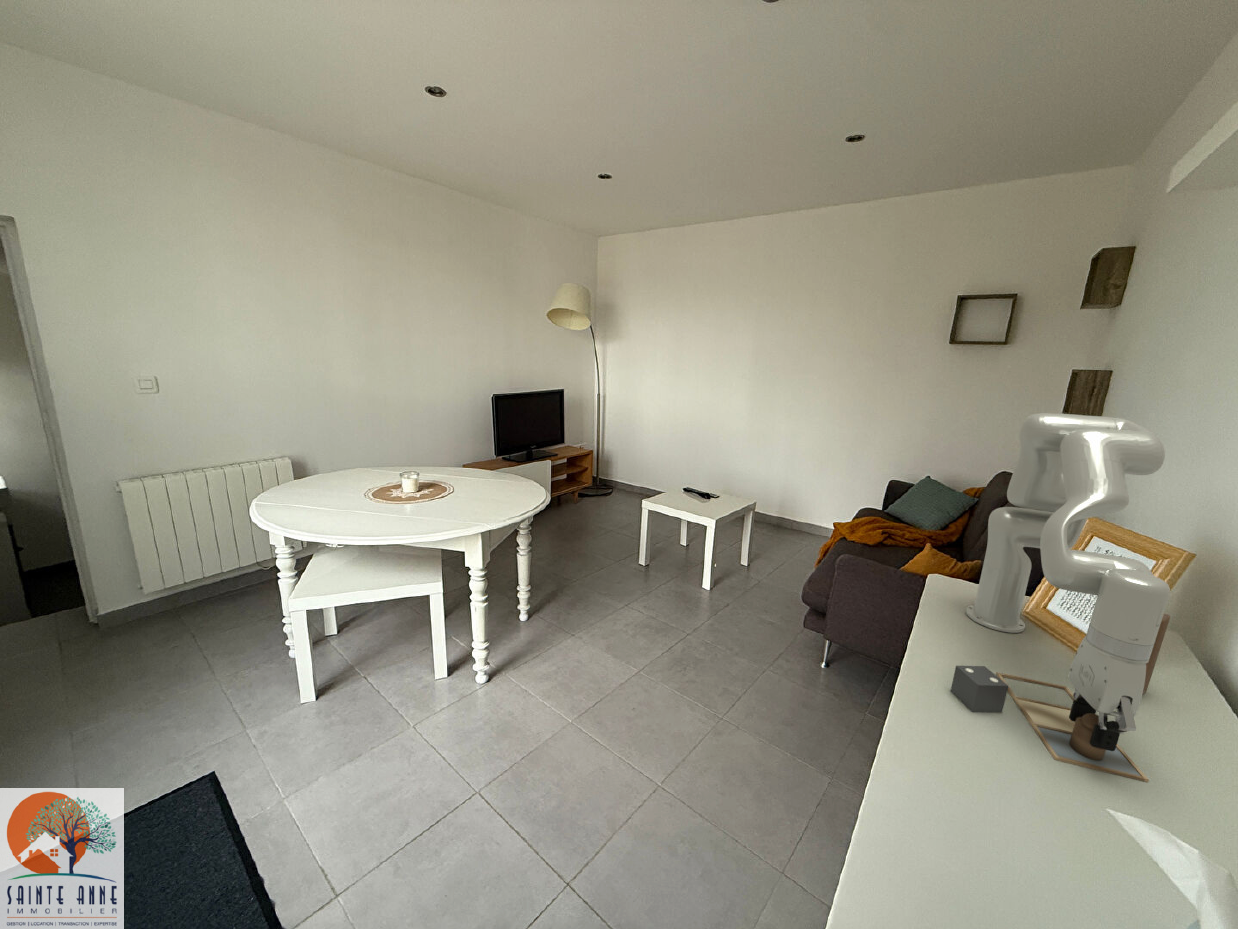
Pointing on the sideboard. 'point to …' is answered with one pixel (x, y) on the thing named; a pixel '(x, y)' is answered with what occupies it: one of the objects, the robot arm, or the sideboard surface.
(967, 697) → the die
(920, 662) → the sideboard surface
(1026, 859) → the sideboard surface
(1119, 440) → the robot arm
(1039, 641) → the sideboard surface
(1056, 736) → the board
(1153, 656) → the wooden block
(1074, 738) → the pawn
